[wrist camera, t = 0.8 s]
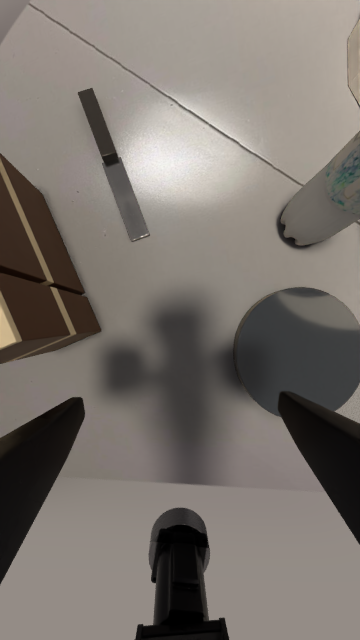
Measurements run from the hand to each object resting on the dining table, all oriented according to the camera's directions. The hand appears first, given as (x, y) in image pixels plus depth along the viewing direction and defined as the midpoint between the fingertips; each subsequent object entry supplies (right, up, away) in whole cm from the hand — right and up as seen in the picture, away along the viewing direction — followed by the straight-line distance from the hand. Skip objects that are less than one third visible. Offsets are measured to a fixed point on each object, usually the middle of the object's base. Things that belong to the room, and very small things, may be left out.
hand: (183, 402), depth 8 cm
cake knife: (-8, +22, +13) cm, 27 cm away
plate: (+14, 0, +14) cm, 20 cm away
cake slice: (-13, +3, +13) cm, 19 cm away
